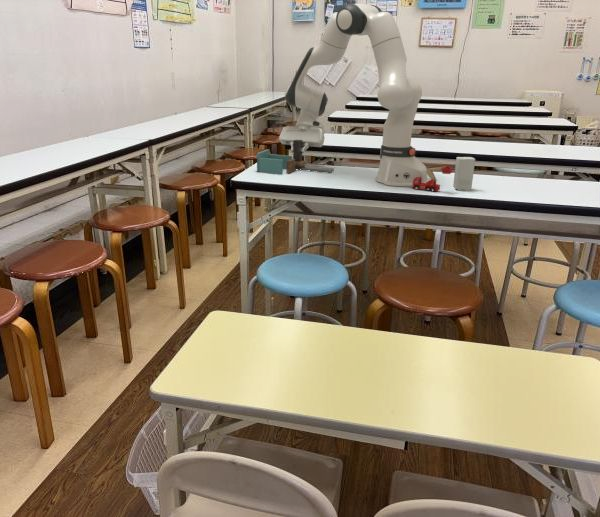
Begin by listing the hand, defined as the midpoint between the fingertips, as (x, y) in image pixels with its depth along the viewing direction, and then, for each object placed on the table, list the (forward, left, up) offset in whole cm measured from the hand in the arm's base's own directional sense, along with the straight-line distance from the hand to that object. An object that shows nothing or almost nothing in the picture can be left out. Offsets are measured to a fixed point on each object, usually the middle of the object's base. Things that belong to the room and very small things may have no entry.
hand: (297, 152), depth 222 cm
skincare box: (-71, +8, -8) cm, 72 cm away
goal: (+8, +7, -7) cm, 13 cm away
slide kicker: (0, +4, -7) cm, 8 cm away
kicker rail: (-8, -1, -7) cm, 11 cm away
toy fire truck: (-60, +15, -8) cm, 62 cm away
